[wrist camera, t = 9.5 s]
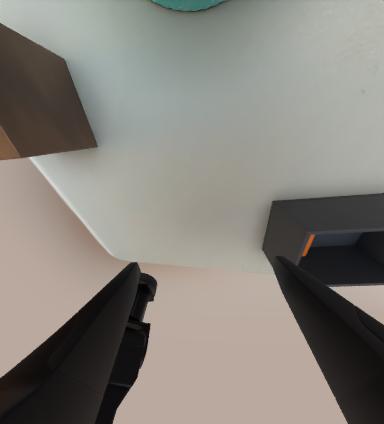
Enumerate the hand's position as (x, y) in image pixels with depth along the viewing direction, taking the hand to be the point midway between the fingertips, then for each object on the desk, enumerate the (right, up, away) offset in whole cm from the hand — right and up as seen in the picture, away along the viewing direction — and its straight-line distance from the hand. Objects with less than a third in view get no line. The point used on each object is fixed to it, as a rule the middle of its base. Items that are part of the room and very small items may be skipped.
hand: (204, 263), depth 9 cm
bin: (+20, +1, +14) cm, 24 cm away
